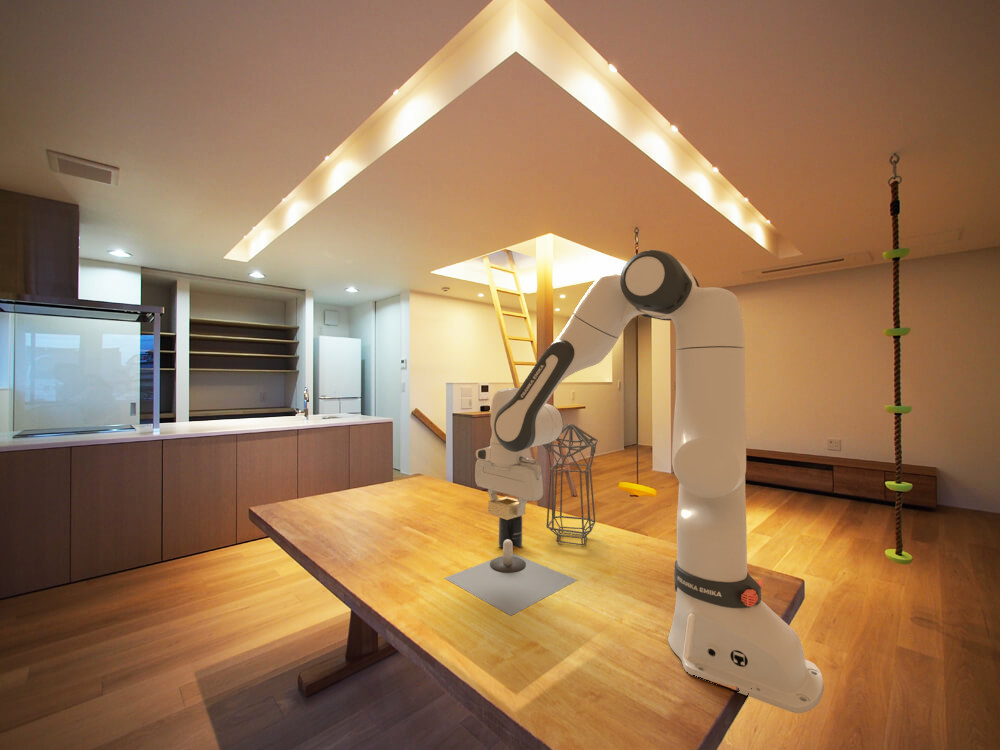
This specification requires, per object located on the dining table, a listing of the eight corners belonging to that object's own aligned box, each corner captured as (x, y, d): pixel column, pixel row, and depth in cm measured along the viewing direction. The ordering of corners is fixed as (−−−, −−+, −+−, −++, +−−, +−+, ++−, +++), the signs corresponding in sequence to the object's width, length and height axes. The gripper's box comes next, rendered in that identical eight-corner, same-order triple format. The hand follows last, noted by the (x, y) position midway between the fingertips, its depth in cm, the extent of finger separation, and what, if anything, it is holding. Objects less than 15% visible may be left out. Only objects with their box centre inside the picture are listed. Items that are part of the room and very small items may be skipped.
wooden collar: (525, 514, 100) (525, 501, 101) (506, 520, 96) (507, 507, 96) (506, 508, 105) (506, 496, 105) (488, 513, 101) (488, 501, 101)
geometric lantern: (594, 552, 115) (594, 427, 116) (539, 545, 120) (539, 425, 121) (600, 533, 130) (599, 422, 131) (550, 528, 135) (550, 421, 136)
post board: (577, 586, 96) (577, 552, 96) (510, 623, 80) (510, 583, 81) (510, 557, 111) (510, 529, 112) (444, 584, 96) (444, 551, 97)
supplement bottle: (520, 551, 116) (520, 508, 116) (496, 549, 117) (496, 507, 118) (523, 542, 123) (523, 501, 123) (501, 540, 124) (501, 500, 124)
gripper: (549, 458, 96) (548, 518, 95) (489, 448, 110) (488, 500, 110) (531, 462, 91) (530, 525, 91) (471, 450, 106) (470, 504, 106)
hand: (506, 511), depth 101 cm, fingers closed on wooden collar, 6 cm apart
